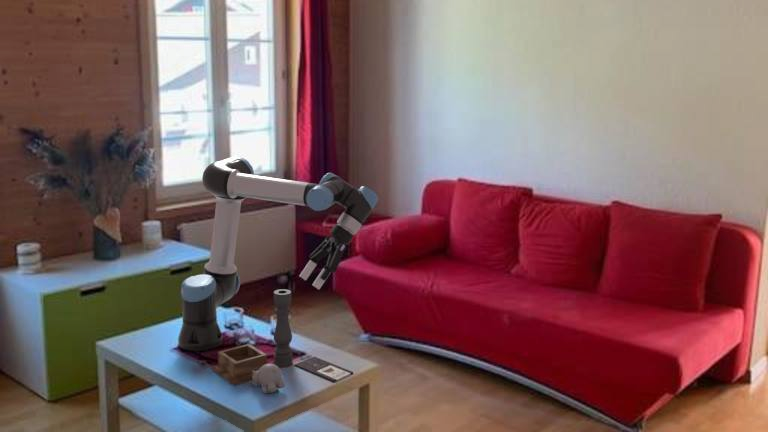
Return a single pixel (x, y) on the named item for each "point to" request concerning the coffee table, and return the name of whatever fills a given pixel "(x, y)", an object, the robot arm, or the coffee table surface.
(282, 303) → the candle holder
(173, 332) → the coffee table surface
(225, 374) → the open wooden box
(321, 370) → the chocolate bar
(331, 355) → the coffee table surface
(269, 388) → the chubby cartoon animal
